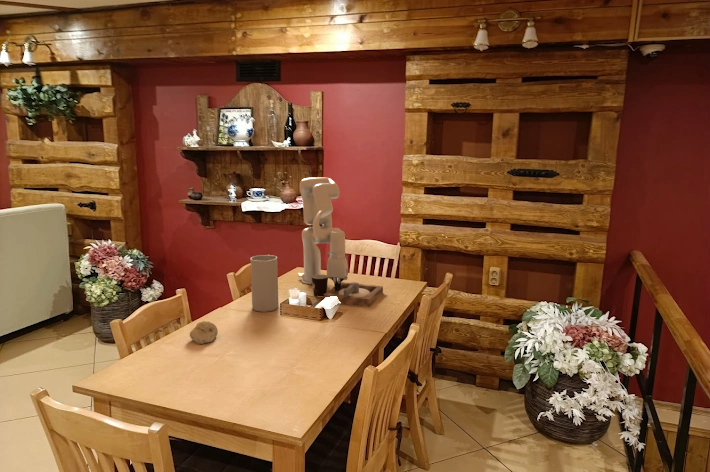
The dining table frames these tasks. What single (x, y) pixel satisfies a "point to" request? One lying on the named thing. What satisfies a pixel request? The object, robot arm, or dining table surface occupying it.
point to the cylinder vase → (264, 283)
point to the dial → (354, 291)
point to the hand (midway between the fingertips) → (337, 290)
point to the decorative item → (204, 332)
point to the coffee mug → (319, 284)
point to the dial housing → (354, 300)
